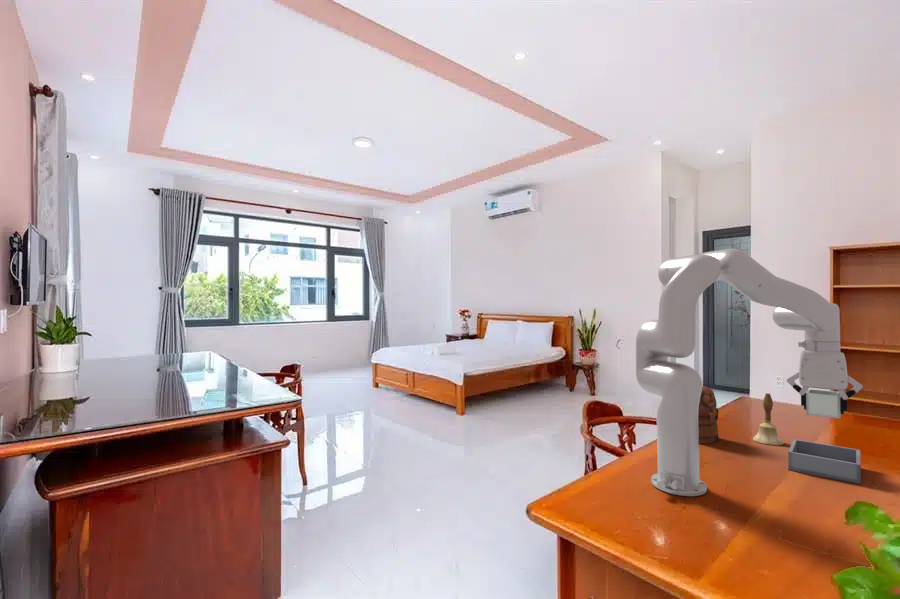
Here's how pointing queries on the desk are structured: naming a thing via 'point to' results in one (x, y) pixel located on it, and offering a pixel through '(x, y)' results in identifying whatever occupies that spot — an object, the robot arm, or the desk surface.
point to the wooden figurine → (707, 416)
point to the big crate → (825, 461)
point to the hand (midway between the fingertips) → (823, 410)
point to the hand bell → (768, 426)
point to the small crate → (823, 403)
